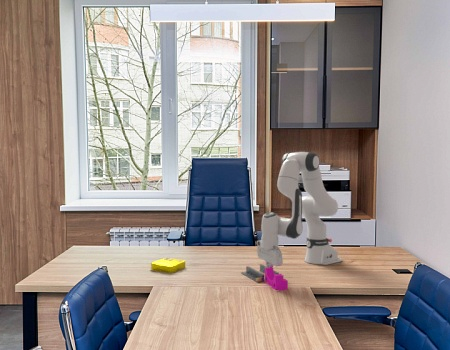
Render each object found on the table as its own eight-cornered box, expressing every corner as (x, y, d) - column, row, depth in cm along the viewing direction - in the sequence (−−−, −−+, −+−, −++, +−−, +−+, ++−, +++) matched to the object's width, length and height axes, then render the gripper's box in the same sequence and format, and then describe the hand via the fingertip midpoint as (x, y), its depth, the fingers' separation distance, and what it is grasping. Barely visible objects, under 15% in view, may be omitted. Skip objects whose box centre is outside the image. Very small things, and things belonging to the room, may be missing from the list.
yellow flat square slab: (149, 270, 264) (149, 262, 263) (165, 264, 276) (165, 256, 276) (171, 274, 256) (170, 265, 256) (186, 267, 269) (186, 259, 269)
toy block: (287, 289, 229) (287, 274, 228) (275, 291, 227) (275, 276, 227) (276, 280, 243) (276, 266, 243) (264, 282, 242) (265, 267, 241)
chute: (266, 269, 263) (266, 263, 263) (283, 278, 247) (283, 272, 246) (241, 273, 256) (241, 267, 256) (257, 282, 240) (257, 275, 240)
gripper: (285, 247, 235) (285, 274, 236) (265, 239, 253) (265, 264, 254) (274, 249, 232) (274, 276, 233) (255, 240, 251) (255, 266, 252)
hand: (269, 270), depth 244 cm, fingers closed
